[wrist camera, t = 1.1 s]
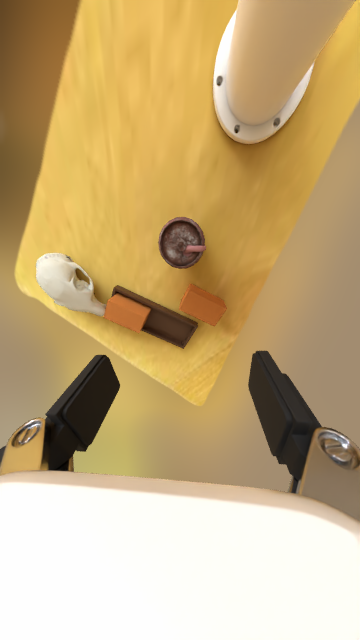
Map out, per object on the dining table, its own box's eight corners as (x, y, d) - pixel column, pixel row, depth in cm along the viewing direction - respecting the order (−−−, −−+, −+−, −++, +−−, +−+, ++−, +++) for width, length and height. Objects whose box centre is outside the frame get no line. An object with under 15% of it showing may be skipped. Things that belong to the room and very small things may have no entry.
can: (202, 256, 33) (206, 269, 21) (173, 257, 33) (159, 270, 21) (203, 223, 30) (208, 214, 18) (171, 224, 30) (154, 217, 18)
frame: (117, 285, 38) (113, 287, 36) (197, 322, 41) (197, 326, 39) (110, 311, 41) (106, 315, 40) (184, 344, 44) (183, 348, 43)
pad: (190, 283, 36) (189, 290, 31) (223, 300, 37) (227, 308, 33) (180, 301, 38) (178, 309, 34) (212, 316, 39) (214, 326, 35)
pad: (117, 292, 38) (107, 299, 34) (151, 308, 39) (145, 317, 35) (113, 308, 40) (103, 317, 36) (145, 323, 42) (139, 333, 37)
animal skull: (95, 321, 43) (61, 335, 34) (62, 267, 41) (15, 267, 32) (121, 307, 40) (90, 318, 30) (86, 246, 37) (41, 239, 28)
